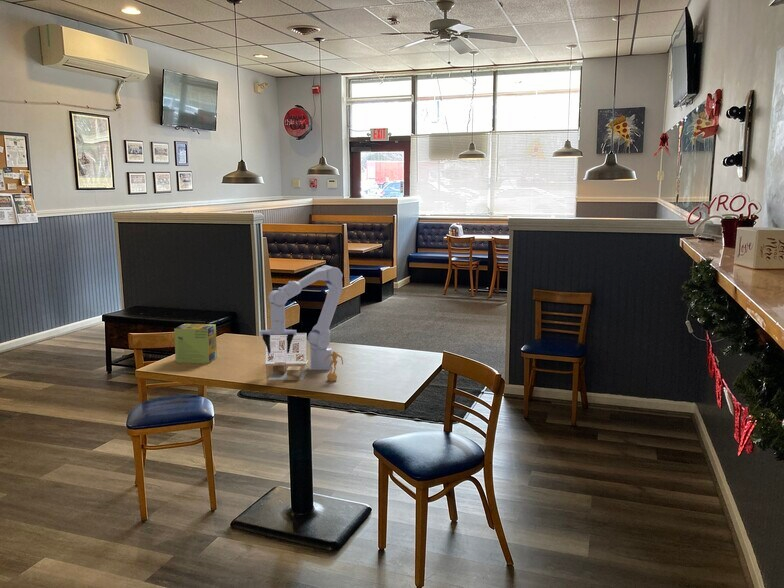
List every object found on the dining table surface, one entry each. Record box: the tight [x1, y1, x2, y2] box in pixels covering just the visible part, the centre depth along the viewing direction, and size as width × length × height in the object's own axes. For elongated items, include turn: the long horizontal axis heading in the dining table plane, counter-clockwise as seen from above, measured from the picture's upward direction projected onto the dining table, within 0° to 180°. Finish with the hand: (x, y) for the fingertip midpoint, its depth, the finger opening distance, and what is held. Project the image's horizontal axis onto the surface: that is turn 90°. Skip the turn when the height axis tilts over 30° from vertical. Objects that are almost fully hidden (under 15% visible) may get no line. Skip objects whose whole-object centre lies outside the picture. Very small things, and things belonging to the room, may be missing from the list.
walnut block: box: [272, 361, 287, 375], centre depth 252 cm, size 4×4×4 cm
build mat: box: [267, 370, 308, 381], centre depth 249 cm, size 14×12×1 cm
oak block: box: [286, 365, 302, 381], centre depth 246 cm, size 5×5×4 cm
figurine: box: [324, 350, 344, 382], centre depth 243 cm, size 8×6×12 cm
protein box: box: [173, 323, 218, 365], centre depth 272 cm, size 10×15×16 cm
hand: (278, 352), depth 251 cm, fingers open, 7 cm apart
